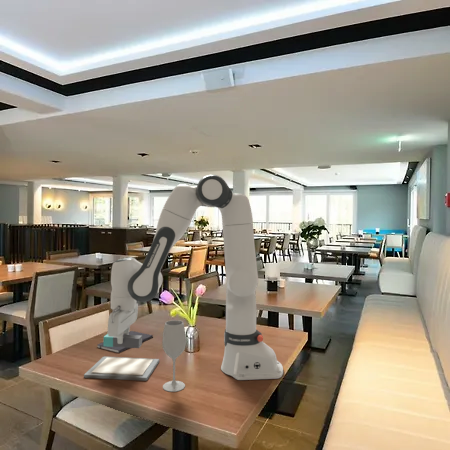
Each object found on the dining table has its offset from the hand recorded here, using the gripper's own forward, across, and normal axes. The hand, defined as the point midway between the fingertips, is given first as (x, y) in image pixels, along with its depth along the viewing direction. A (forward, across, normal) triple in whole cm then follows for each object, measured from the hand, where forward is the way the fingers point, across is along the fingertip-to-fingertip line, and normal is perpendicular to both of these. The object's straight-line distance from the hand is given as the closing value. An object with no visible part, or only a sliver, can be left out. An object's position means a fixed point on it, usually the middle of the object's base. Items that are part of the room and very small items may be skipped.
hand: (123, 340), depth 132 cm
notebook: (+11, +27, +9) cm, 31 cm away
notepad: (+10, 0, 0) cm, 10 cm away
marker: (+2, 0, 0) cm, 2 cm away
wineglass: (+10, -11, -21) cm, 26 cm away
